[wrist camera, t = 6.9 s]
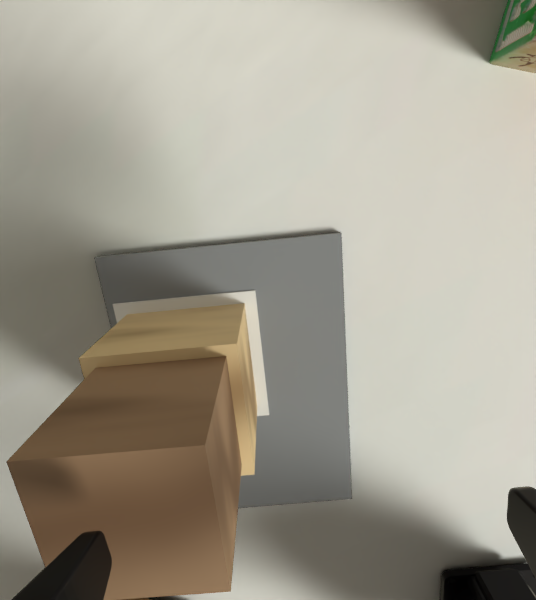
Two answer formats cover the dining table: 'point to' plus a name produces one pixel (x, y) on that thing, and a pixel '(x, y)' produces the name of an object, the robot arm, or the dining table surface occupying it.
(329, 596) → the dining table surface
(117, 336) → the oak base block
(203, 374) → the walnut cube
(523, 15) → the stack of blocks
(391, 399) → the dining table surface
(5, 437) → the dining table surface
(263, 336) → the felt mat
